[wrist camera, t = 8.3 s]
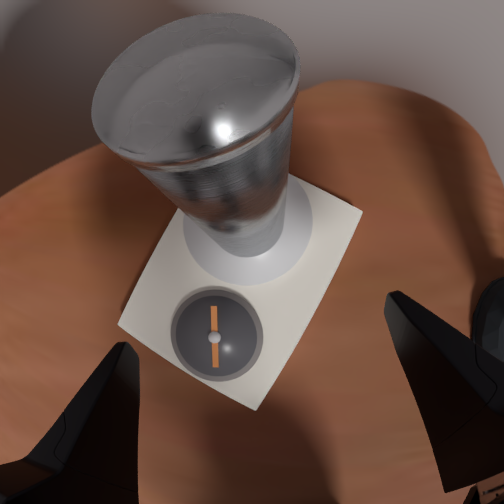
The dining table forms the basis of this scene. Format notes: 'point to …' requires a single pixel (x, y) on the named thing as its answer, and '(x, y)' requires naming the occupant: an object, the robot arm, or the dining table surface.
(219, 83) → the metal tumbler
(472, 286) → the dining table surface
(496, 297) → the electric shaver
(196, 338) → the dial scale
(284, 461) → the dining table surface
